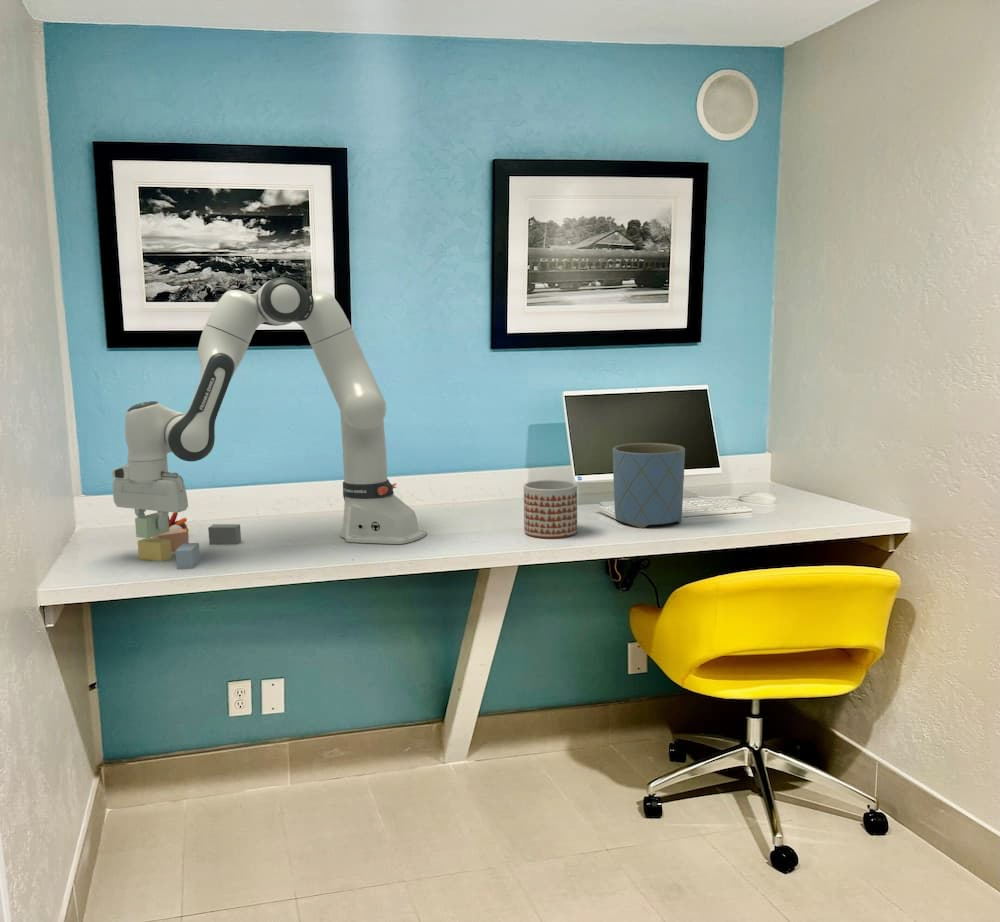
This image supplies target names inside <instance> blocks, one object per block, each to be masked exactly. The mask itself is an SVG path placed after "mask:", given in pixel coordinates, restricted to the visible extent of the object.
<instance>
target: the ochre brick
mask: <svg viewBox="0 0 1000 922" xmlns="http://www.w3.org/2000/svg"><path fill="white" fill-rule="evenodd" d="M137 549H138V550H137V552H138V553H137V554H138V559H140V560H148V561H155V562H164V561H166V560H169V559H172V557H173V556H172V555H173V554H172V553H173V551H171V540H167V539H157V538H152V537H150V538H142V539H140V540H137Z"/></svg>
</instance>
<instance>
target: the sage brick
mask: <svg viewBox="0 0 1000 922" xmlns="http://www.w3.org/2000/svg"><path fill="white" fill-rule="evenodd" d="M159 516H160V515H158V512H154V513H150V514H147V515H146V514H145V516H142V517H139V518H137V517H135V518H134V524H135V535H136V538H140V539H141V538H142V539H145V538H152V537H154V536H157V535H160V534H164V533H167V532H169V521H168V516H169V515H168V516H167V519H166V521H165V528H164V529H156V527H155V526H156V525H155V522H156V521H158V519H159Z"/></svg>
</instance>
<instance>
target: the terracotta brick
mask: <svg viewBox="0 0 1000 922" xmlns="http://www.w3.org/2000/svg"><path fill="white" fill-rule="evenodd" d="M156 538H157V539H167V540H171V552H174V551H175V552H176V550H177V549H178V548H179V547H180V546H181V545H182V544H183V543H190V542H189V531H186V530H185V529H180V530H173V531H169V532H167V533H164V534H160V535H157V536H156Z"/></svg>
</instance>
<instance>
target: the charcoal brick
mask: <svg viewBox="0 0 1000 922" xmlns="http://www.w3.org/2000/svg"><path fill="white" fill-rule="evenodd" d="M207 529H208V541H209V545H238V544H239V543H241V542H242V535H241V534H242V533H241V524H239V523H238V524H237V523H236V524H234V523H233V524H232V523H231V524H230V523H229V524H228V523H225V524H223V523H221V524H220V523H218V524H216V523H215V524H212V525H210V526H208V528H207Z"/></svg>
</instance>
